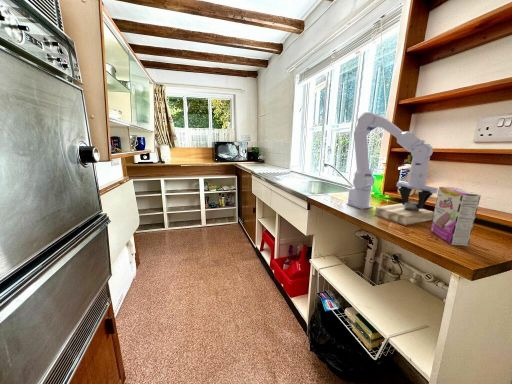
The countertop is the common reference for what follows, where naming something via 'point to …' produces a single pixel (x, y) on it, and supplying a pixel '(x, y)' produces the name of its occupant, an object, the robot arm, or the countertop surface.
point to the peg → (411, 206)
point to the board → (403, 214)
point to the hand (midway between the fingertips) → (412, 206)
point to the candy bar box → (454, 215)
